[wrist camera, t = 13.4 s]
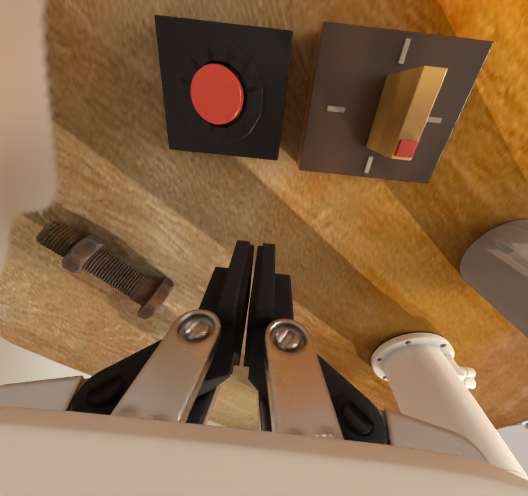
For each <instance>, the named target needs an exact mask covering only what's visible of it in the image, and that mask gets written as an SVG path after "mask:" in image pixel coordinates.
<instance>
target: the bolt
mask: <svg viewBox="0 0 528 496" xmlns="http://www.w3.org/2000/svg"><path fill="white" fill-rule="evenodd" d="M36 239H37V242H39V243H40V244H42V245H43V246H45V247H46V248H48V249H50V250H52V251H55V253H57V254H58V255H61V256H62V257H64V258H63V260H62V265H63V268H65V269H66V270H68V271H70V272H71V273H80V272H82V271H83V270H86V272H89V273H92V275H94V276H95V277H96V276H97V278H100V280H102V279H103V282H104V281H105V283H108V285H109V284H110V286H113V288H114V287H116V288H115V289H118V291H119V290H121V291H120V292H123V294H124V293H126V294H125V295H128V297H130V298H131V300H133V301H135V302H136V303H138V304H140V305H141V308H140V309H139V311H138V313H137V316H139V317H141V318H143V319H147V318H150V317H152V316H153V315H154V313H155V312H156V311H157V310H158V309H159V308H160V306H161V305H162V304H163V302H164V301H165V300H166V299H167V297H168V295H169V294H170V292H171V291H172V289H173V287H174V284H173V282H172V281H171V280H169V279H168V278H166V277H165V278H164V279H163V280H162V281H161V282H160V283H158V282H156V281H155V280H153V279H152V278H150V277H147V276H145V275H142V274H143V273H141V274H140V272H138V270H136V269H133V267H132V268H131V266H128V264H126V262H125V263H123V262H124V261H121V259H120V260H118V258H116V256H114V257H113V255H111V253H108V251H107V252H106V250H104V249H105V247H106V241H104V240H103V239H101V238H100V237H98V236H96V235H88V236H86V237H85V236H82V234H79V233H77V231H74V229H71V227H69V226H68V225H66V224H65V223H63V222H62V221H61V222H59V221H54V222H53V223H50V224H47V225H45V227H44V228H43V229H42V230H41V232H40V233H39V234H38V235H37V237H36ZM135 270H136V271H135Z"/></svg>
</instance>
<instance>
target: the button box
mask: <svg viewBox="0 0 528 496" xmlns="http://www.w3.org/2000/svg"><path fill="white" fill-rule="evenodd" d="M155 25H156V34H157V43H158V52H159V61H160V70H161V79H162V87H163V96H164V105H165V114H166V123H167V132H168V141H169V149H173V150H183V151H192V152H202V153H211V154H221V155H231V156H240V157H250V158H259V159H269V160H278V154H279V145H280V137H281V128H282V120H283V111H284V103H285V94H286V86H287V77H288V69H289V61H290V52H291V44H292V35H293V31H289V30H281V29H272V28H264V27H255V26H246V25H238V24H229V23H221V22H212V21H203V20H195V19H186V18H178V17H169V16H160V15H155ZM207 64H220V65H222V66H224V67H226V68H228V69H229V70H230V71H231V72H233V73H234V74H235V75H236V77H237V78H238V79H239V81H240V83H241V85H242V88H243V93H244V102H243V107H242V110H241V112H240V113H239V115H238V116H237V117H236V118H235V119H234V120H232V121H230V122H228V123H225V124H212V123H210V122H208V121H206V120H204V119H203V118H202V117H201V116H200V115H199V114H198V112H197V111H196V109H195V108H194V105H193V103H192V99H191V90H190V89H191V82H192V79H193V77H194V75H195V73H196V72H197V71H198V70H199V69H200V68H201V67H203V66H204V65H207Z"/></svg>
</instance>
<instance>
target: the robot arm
mask: <svg viewBox="0 0 528 496" xmlns="http://www.w3.org/2000/svg"><path fill="white" fill-rule="evenodd" d="M253 254H254V245H250V242H249V241H240V240H237V243H236V246H235V250H234V253H233V256H232V259H231V263H230V266H229V268H222V267H216V268H215V270H214V272H213V274H212V277H211V279H210V282H209V285H208V287H207V290H206V292H205V295H204V297H203V300H202V302H201V305H200V307H199V309H198V310H192V311H189V312H186V313H184V314H183V315H181V316H180V317H179V318H178V319H177V320H176V321H175V322H174V324H173V325H172V327H171V328H170V329H169V331H168V332H167V334H166V335H165V337H164V338H163V339H162V340H160V341H158V342H156V343H154V344H152V345H150V346H148V347H146V348H144V349H142V350H140V351H139V352H137V353H135V354H133V355H131V356H129V357H127V358H125V359H123V360H121V361H119V362H117V363H115V364H113V365H111V366H109V367H108V368H106V369H104V370H102V371H100V372H98V373H97V374H95V375H94V376H92V377H91V378H88V379H84V378H83V376H74V377H66V378H57V379H48V380H40V381H31V382H23V383H13V384H6V385H2V386H0V496H528V476H527V475H526V473H525V472H524V470H523V469H522V467H521V466H520V465H519V463H518V462H517V460H516V459H515V457H514V456H513V454H512V453H511V451H510V450H509V448H508V447H507V445H506V444H505V443H504V441H503V440H502V438H501V437H500V435H499V434H498V432H497V431H496V429H495V428H494V426H493V425H492V424H491V422H490V421H489V419H488V418H487V416H486V415H485V413H484V412H483V410H482V409H481V408H480V406H479V405H478V403H477V402H476V400H475V399H474V397H473V396H472V394H471V393H470V392H469V390H468V389H467V388H472V389H473V388H475V386H476V382H475V380H474V378H473V377H475V376H476V372H475V370H474V369H473V368H470V367H459V366H458V365H457V364H456V362H455V361H454V359H453V358H454V350H453V348H452V346H451V345H450V344H449V342H448V341H447V340H446V339H444V338H443V337H441V336H439V335H436V334H432V333H423V332H422V333H410V334H404V335H401V336H397V337H395V338H392V339H390V340H388V341H386V342H385V343H383V344H382V345H381V346H379V347H378V348H377V349H376V350H375V352H374V353H373V355H372V357H371V365H372V368H373V371H374V372H375V374H376V375H377V376H378V377H380V378H381V379H383V380H386V381H388V382H389V385H390V387H391V389H392V392H393V394H394V397H395V399H396V401H397V404H398V406H399V409H400V411H401V413H399V412H396V411H393V410H390V409H388V408H385V409H384V411H383V410H380V409H377V408H376V407H375V406H374V405H373V403H372V402H371V401H370V400H369V399H368V398H366V397H365V396H364V395H363V394H362V393H361V392H360V391H358V390H357V389H356V388H355V387H354V386H353V385H352V384H351V383H349V382H348V381H347V380H346V379H345V378H344V377H343V376H341V375H340V374H339V373H338V372H337V371H336V370H335V369H334V368H332V367H331V366H330V365H329V364H328V363H327V362H326V361H324V360H323V359H322V358H321V357H320V356H319V355H318V354H316V351H315V348H314V345H313V342H312V339H311V336H310V334H309V332H308V330H307V329H306V328H305V327H304V326H303V325H302V324H300V323H299V322H297V321H294V317H293V304H292V292H291V279H290V275H285V274H276V273H275V244H267V243H263V246H258V249H257V256H256V263H255V270H254V277H253V284H252V291H251V298H250V305H249V314H248V325H247V336H246V346H245V357H244V366H247V367H249V376H248V379H249V380H250V381H251V383H252V384H253V385H254V386H255V387H256V389H257V393H256V396H257V411H258V425H259V430H249V429H240V428H230V427H221V426H211V425H207V421H208V419H209V416H210V413H211V411H212V408H213V405H214V402H215V400H216V397H217V394H218V391H219V387H220V384H221V383H222V382H223V381H225V380H226V379H227V378H229V377H230V374H232V372H233V366H234V365H237V366H239V363H240V357H241V350H242V343H243V337H244V330H245V323H246V317H247V310H248V303H249V296H250V287H251V276H252V265H253Z"/></svg>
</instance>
